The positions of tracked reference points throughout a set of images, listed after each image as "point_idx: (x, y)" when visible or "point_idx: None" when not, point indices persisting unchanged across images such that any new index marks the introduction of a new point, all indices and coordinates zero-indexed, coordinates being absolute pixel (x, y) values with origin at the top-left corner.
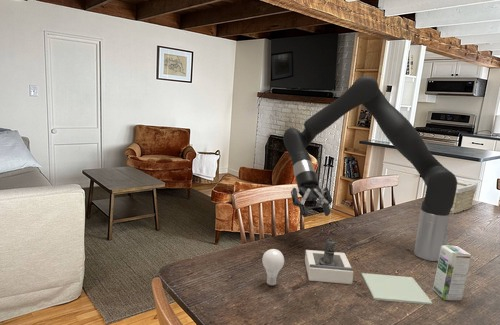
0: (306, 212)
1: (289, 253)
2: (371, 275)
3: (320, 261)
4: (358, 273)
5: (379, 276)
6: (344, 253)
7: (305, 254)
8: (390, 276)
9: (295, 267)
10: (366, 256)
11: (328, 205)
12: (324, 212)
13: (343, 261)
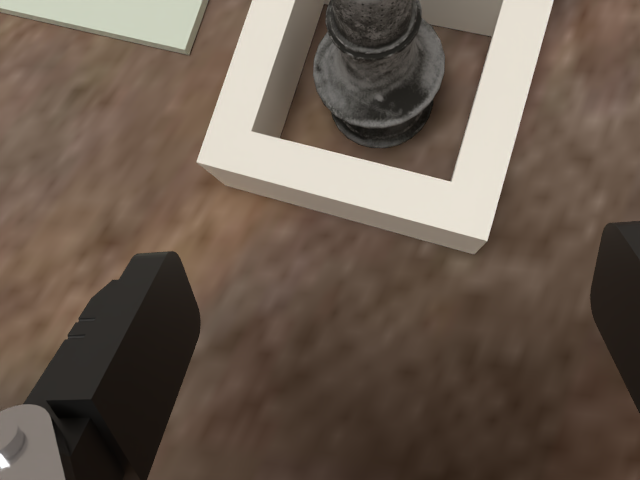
0: (633, 235)
1: (557, 386)
2: (146, 21)
3: (437, 64)
4: (197, 71)
5: (109, 10)
6: (200, 155)
7: (481, 245)
8: (51, 7)
9: (578, 167)
10: (17, 271)
11: (28, 398)
12: (182, 370)
13: (274, 39)
